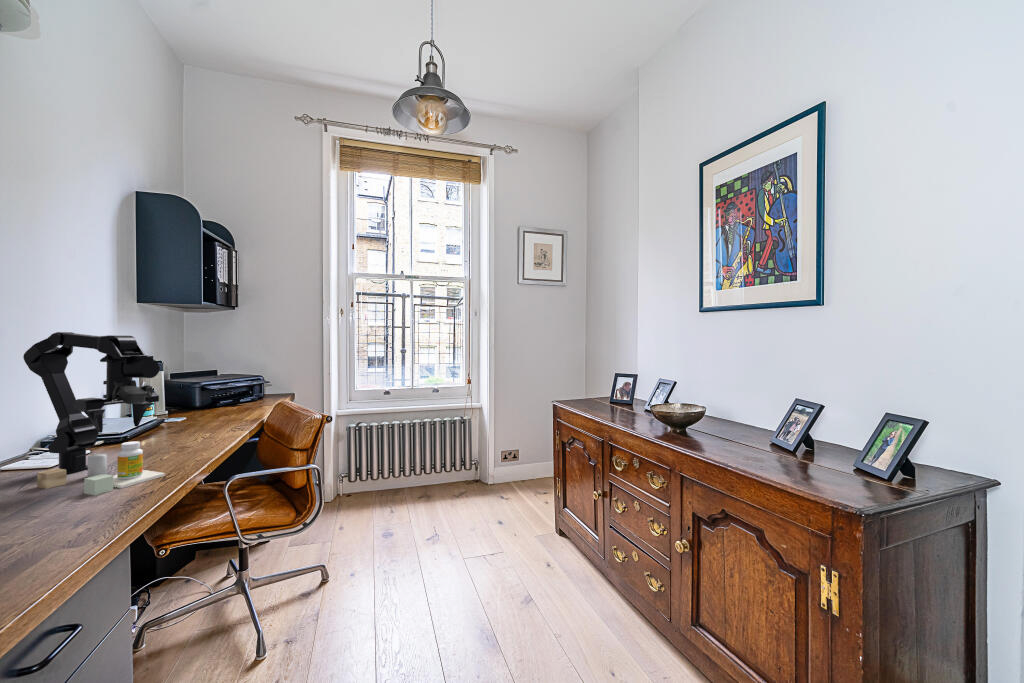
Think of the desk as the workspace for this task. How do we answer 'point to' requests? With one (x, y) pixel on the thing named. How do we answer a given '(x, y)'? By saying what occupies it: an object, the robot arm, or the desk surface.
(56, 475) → the beech block
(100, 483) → the sage block
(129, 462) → the supplement bottle
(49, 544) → the desk surface
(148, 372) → the robot arm
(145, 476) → the ceramic tile
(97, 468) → the grey capsule
